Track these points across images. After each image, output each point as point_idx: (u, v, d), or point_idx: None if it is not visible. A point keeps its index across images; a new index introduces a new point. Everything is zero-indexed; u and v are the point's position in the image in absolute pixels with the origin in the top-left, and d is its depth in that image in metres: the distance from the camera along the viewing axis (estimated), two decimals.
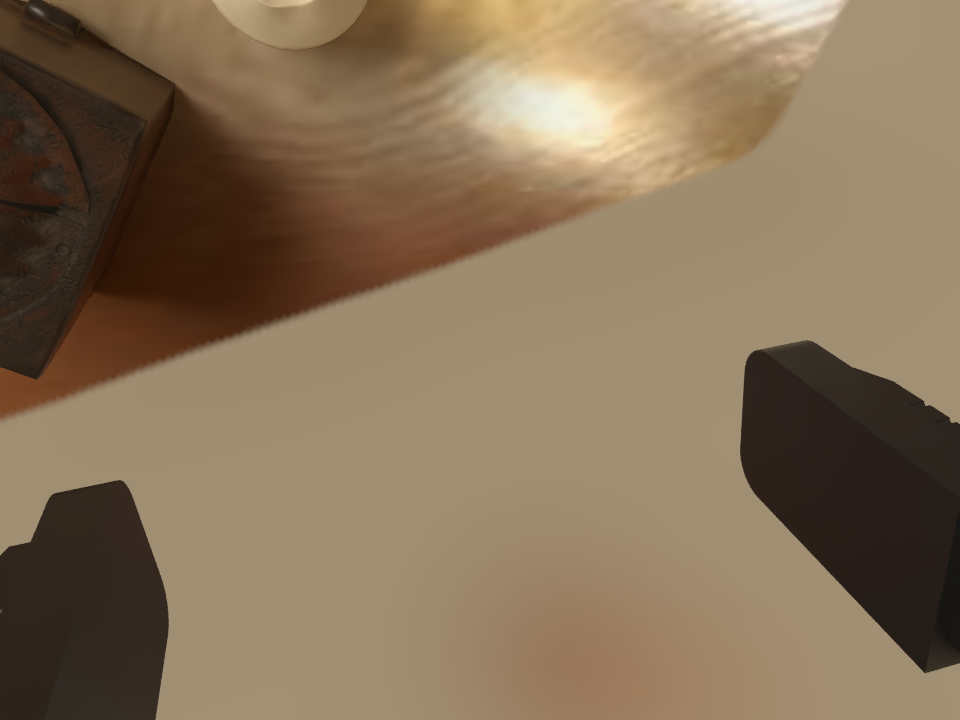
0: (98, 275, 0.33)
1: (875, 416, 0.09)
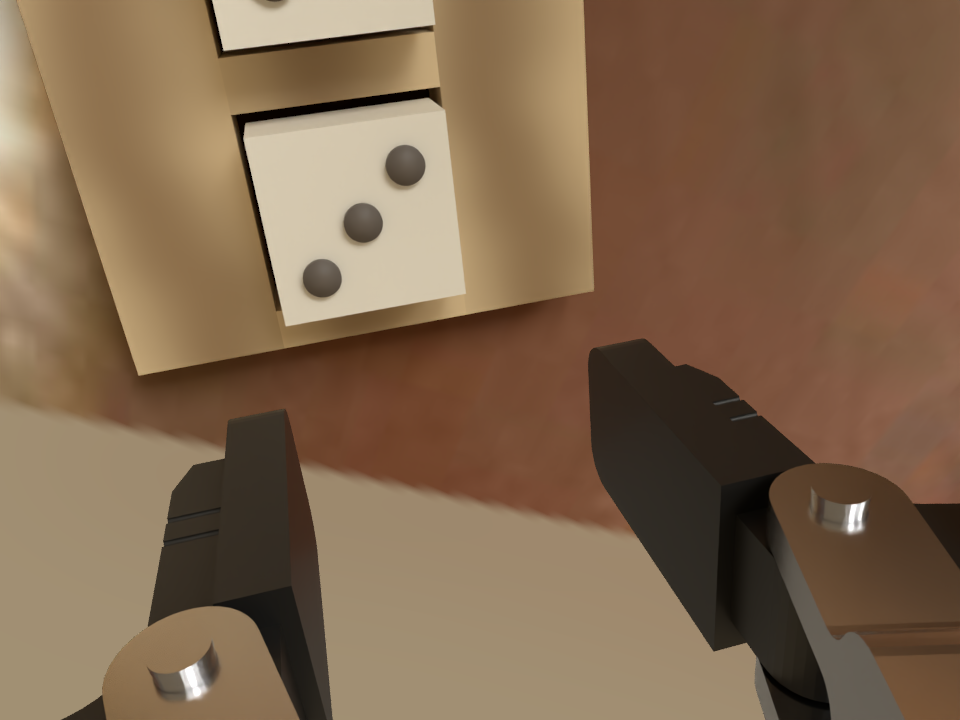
0: None
1: (675, 409, 0.09)
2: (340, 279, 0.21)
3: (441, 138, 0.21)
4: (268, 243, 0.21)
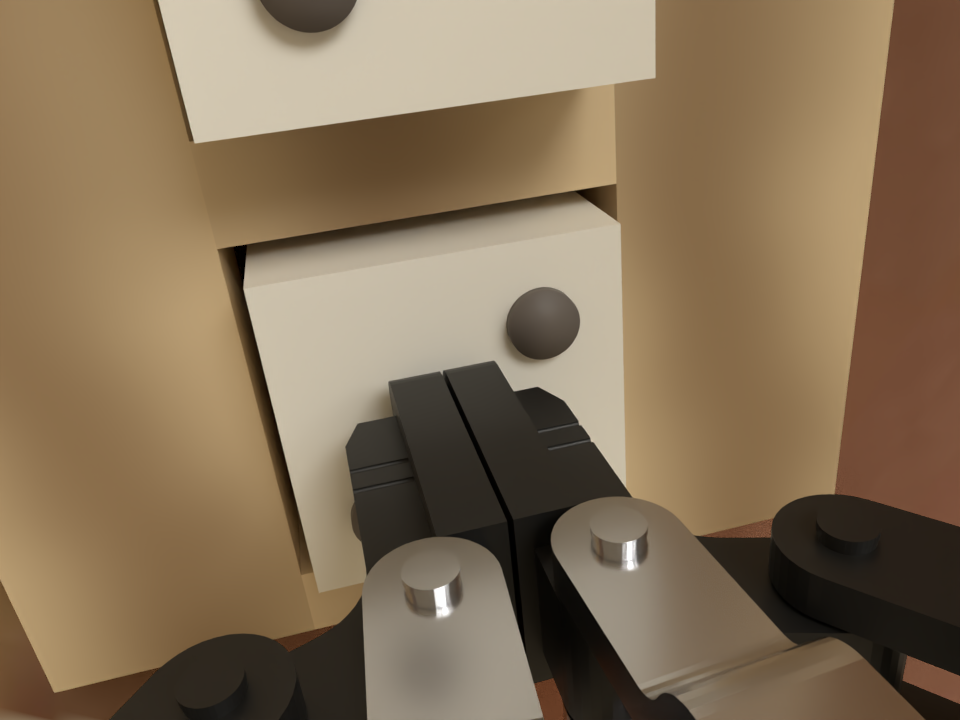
0: None
1: (496, 437, 0.09)
2: None
3: (609, 273, 0.11)
4: (289, 465, 0.11)
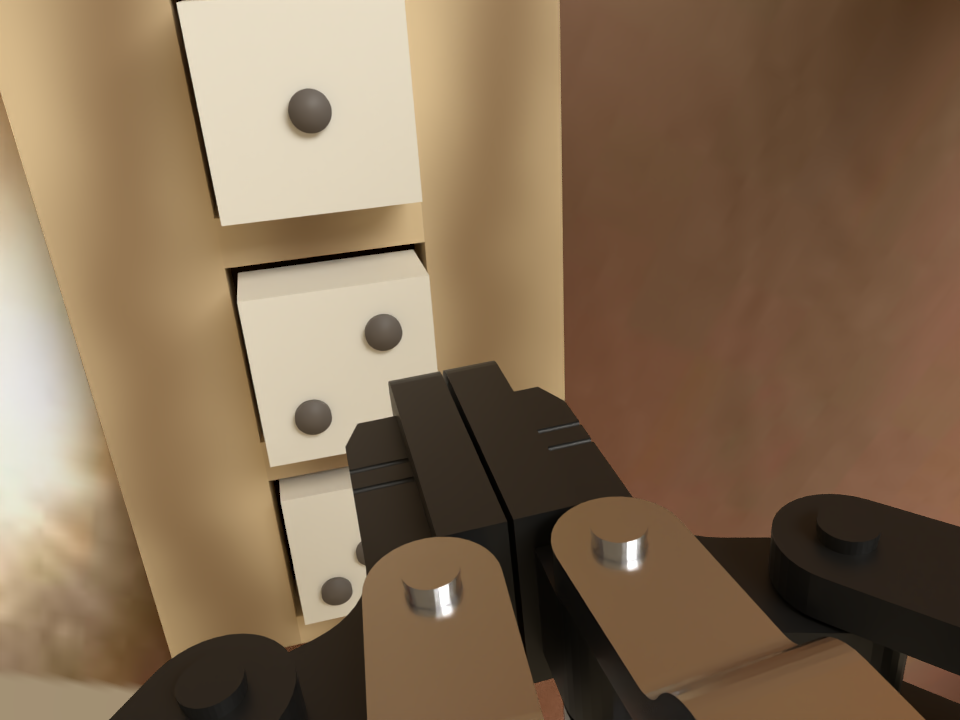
0: None
1: (497, 437, 0.09)
2: (351, 592, 0.26)
3: None
4: (295, 569, 0.26)
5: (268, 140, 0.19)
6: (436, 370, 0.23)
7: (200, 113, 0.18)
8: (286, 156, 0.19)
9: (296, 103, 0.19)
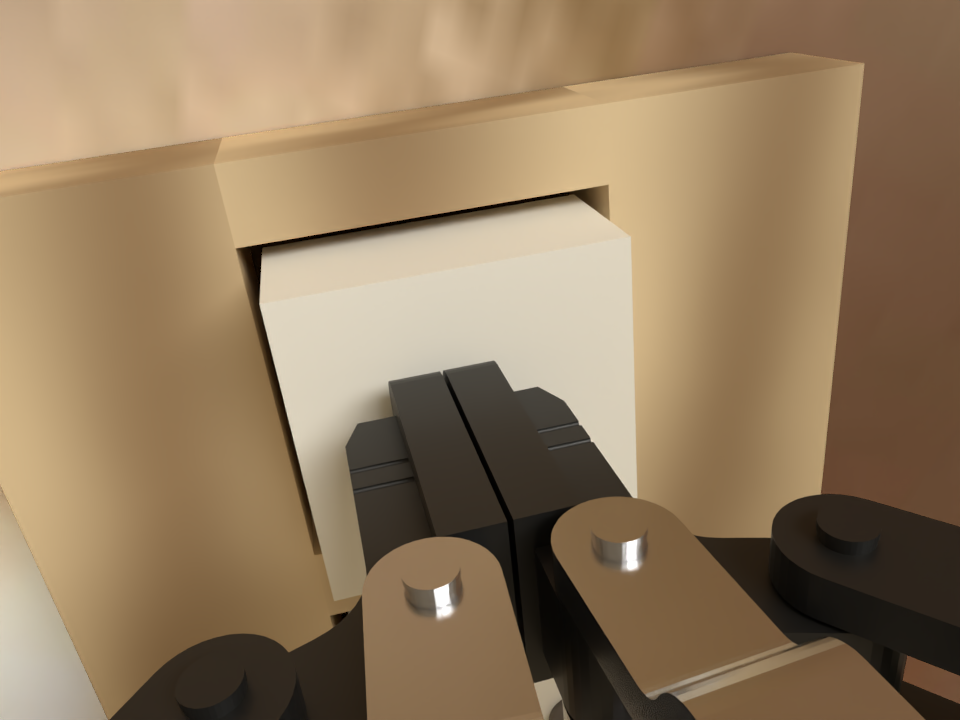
0: None
1: (497, 437, 0.09)
2: None
3: None
4: None
5: None
6: None
7: (300, 457, 0.11)
8: None
9: None
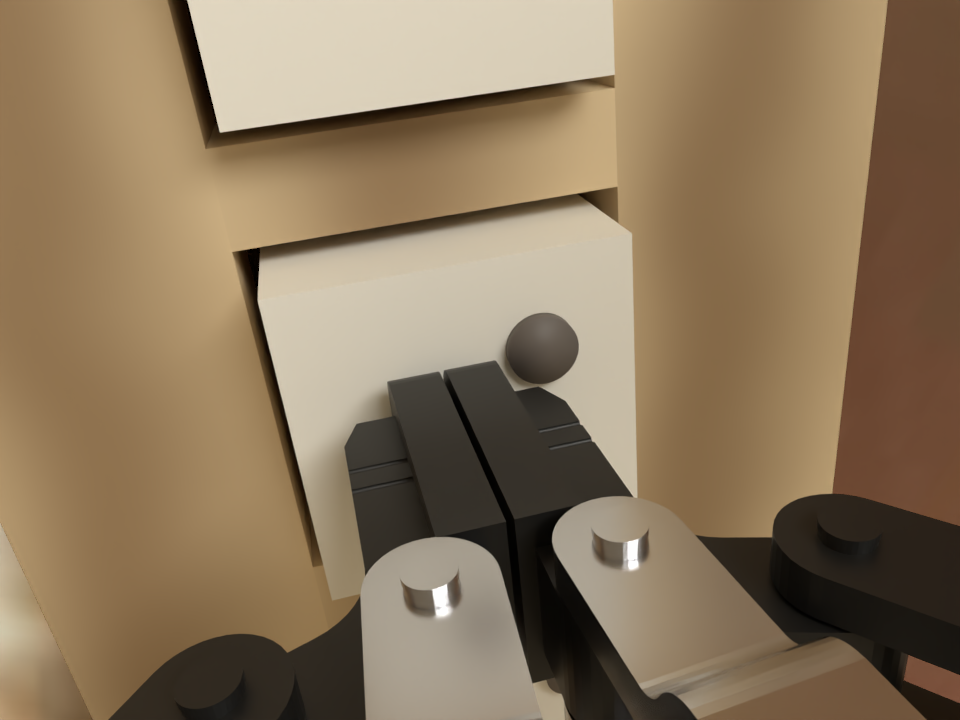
0: None
1: (498, 437, 0.09)
2: None
3: None
4: None
5: None
6: (633, 414, 0.12)
7: None
8: None
9: None
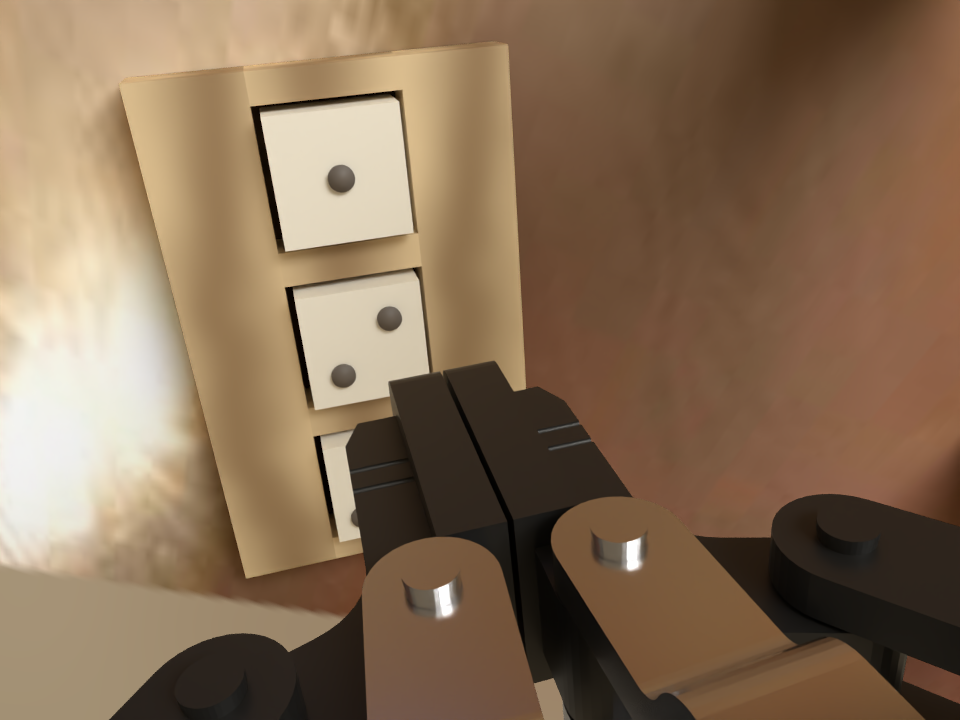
0: None
1: (497, 437, 0.09)
2: None
3: None
4: (332, 500, 0.36)
5: (315, 196, 0.30)
6: (425, 343, 0.34)
7: (273, 182, 0.30)
8: (326, 206, 0.31)
9: (333, 174, 0.30)
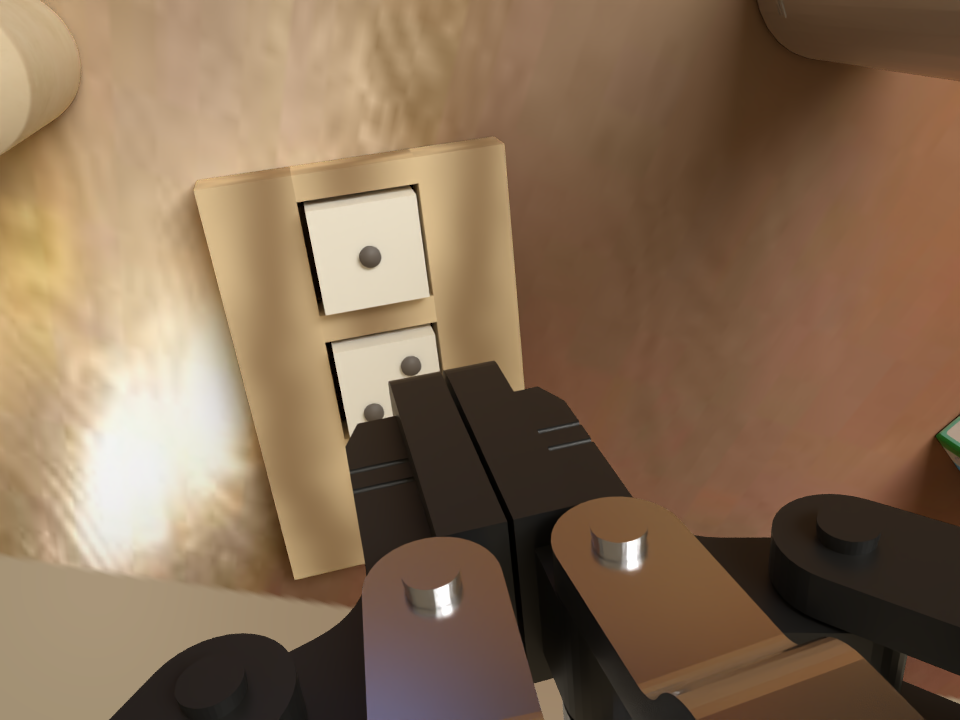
0: None
1: (497, 437, 0.09)
2: None
3: None
4: None
5: (349, 271, 0.37)
6: None
7: (316, 262, 0.37)
8: (358, 279, 0.38)
9: (363, 254, 0.37)
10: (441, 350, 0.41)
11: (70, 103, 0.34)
